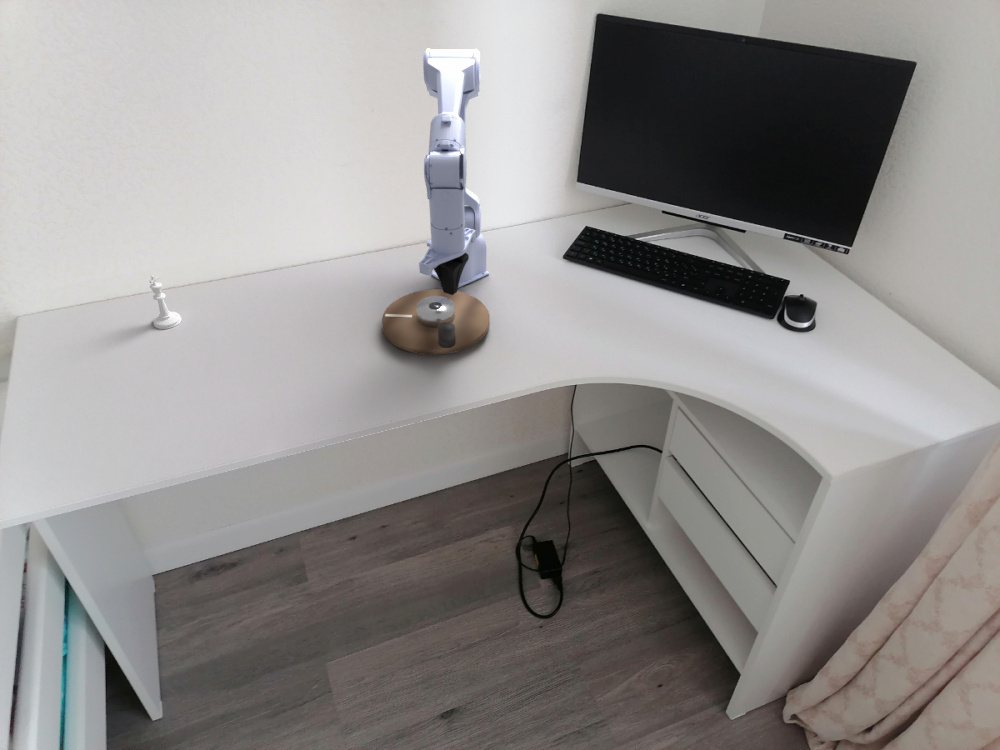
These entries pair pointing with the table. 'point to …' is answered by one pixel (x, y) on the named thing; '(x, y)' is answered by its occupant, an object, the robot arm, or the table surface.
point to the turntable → (445, 338)
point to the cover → (435, 311)
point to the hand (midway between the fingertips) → (450, 291)
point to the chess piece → (163, 308)
